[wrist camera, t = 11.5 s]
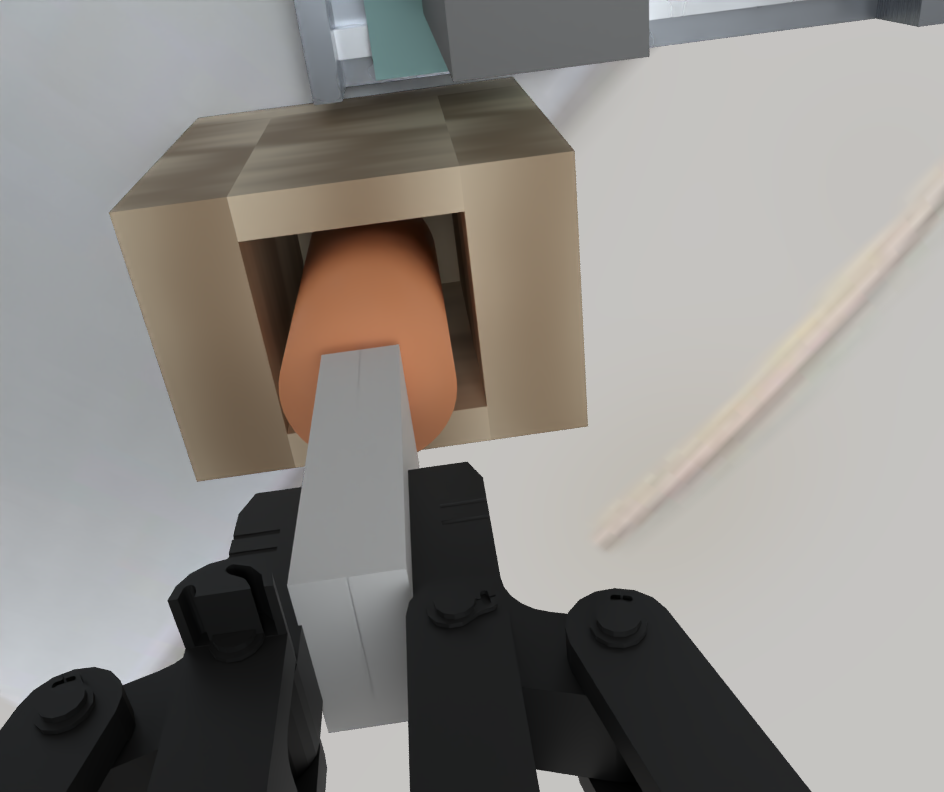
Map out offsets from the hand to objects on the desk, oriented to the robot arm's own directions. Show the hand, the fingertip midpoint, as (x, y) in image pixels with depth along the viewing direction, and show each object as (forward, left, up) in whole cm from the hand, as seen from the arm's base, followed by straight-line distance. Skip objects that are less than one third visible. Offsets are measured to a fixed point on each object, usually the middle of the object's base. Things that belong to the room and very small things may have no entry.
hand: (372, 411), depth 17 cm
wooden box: (0, 0, -14) cm, 14 cm away
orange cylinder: (0, 0, -9) cm, 9 cm away
